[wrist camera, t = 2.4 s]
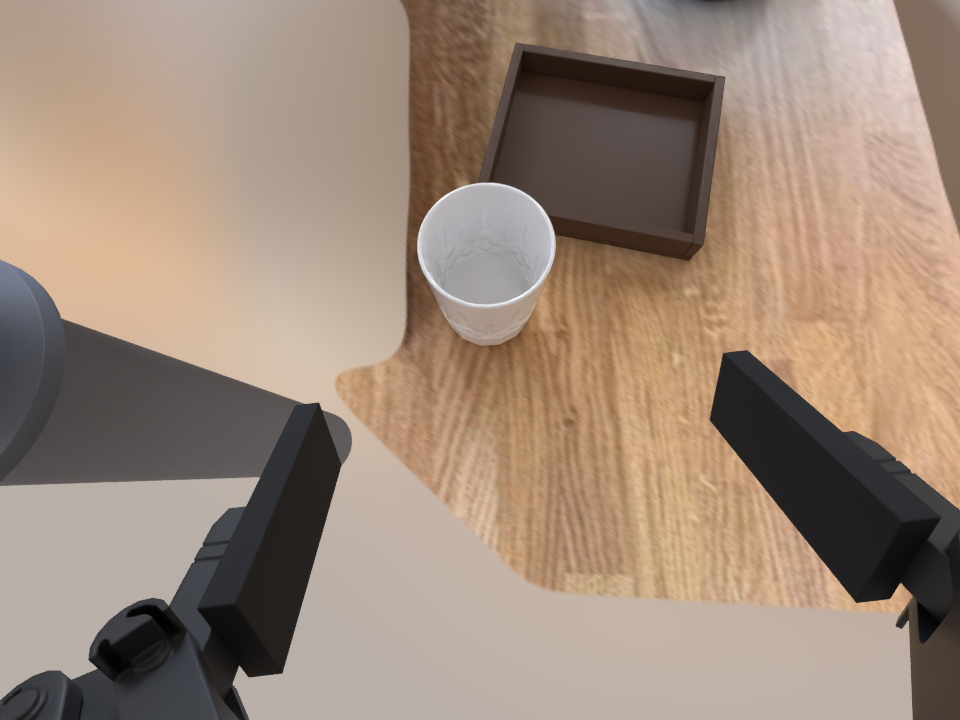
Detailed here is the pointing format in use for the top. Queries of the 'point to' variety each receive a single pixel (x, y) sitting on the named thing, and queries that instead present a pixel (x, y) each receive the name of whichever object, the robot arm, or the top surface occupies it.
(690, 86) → the serving tray
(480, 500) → the top surface
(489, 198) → the white cup
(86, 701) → the robot arm
